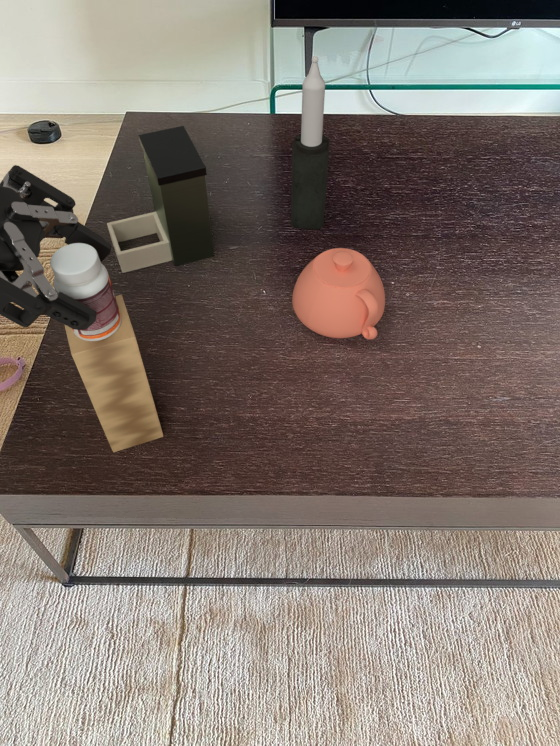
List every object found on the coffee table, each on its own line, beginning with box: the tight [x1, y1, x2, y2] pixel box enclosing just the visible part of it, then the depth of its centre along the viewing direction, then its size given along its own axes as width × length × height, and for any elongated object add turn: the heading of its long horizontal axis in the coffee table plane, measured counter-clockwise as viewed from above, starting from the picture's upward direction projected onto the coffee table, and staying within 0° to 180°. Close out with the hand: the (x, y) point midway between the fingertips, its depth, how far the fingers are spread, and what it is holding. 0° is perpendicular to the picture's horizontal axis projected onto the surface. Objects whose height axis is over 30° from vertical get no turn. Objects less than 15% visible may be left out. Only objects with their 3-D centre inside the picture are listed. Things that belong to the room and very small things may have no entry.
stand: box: [64, 294, 164, 453], centre depth 67 cm, size 6×6×18 cm
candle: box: [290, 55, 331, 230], centre depth 87 cm, size 5×5×25 cm
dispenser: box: [138, 125, 215, 267], centre depth 88 cm, size 6×10×15 cm, turn 21°
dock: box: [106, 211, 173, 274], centre depth 91 cm, size 7×7×4 cm
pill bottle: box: [49, 243, 121, 341], centre depth 56 cm, size 5×5×8 cm
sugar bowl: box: [291, 247, 386, 340], centre depth 80 cm, size 12×14×10 cm
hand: (99, 286), depth 56 cm, fingers open, 8 cm apart
